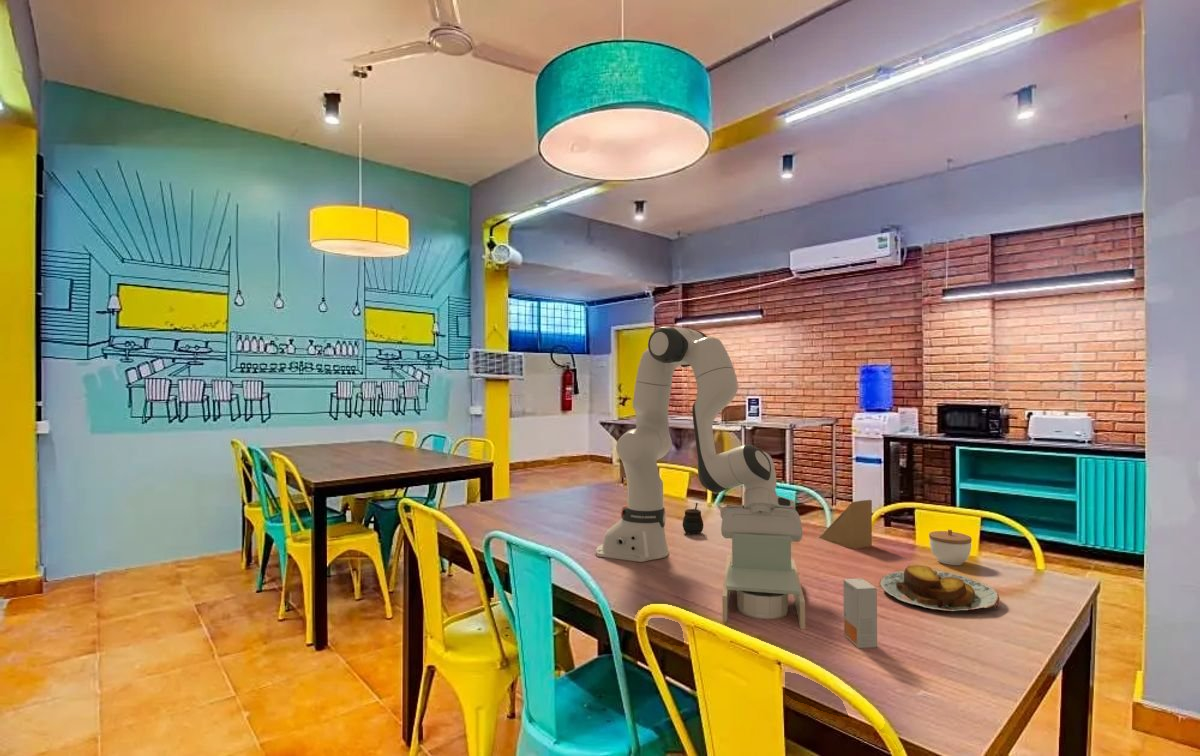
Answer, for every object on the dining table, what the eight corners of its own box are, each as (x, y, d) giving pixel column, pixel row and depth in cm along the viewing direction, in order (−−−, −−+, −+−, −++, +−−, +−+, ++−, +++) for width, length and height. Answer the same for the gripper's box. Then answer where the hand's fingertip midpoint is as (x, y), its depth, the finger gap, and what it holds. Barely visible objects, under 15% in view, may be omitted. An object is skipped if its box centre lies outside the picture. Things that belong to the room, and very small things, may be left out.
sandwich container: (836, 535, 207) (836, 491, 207) (872, 546, 193) (872, 499, 193) (817, 537, 203) (816, 493, 204) (852, 549, 189) (852, 501, 189)
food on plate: (1024, 611, 139) (1024, 583, 139) (936, 623, 132) (936, 594, 132) (936, 576, 163) (936, 552, 163) (858, 585, 157) (858, 560, 157)
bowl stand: (722, 621, 133) (722, 595, 133) (727, 575, 164) (727, 554, 164) (805, 629, 129) (805, 602, 129) (794, 580, 160) (794, 559, 160)
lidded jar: (931, 565, 172) (931, 532, 172) (927, 555, 182) (926, 524, 182) (975, 569, 168) (974, 536, 168) (967, 558, 178) (967, 527, 178)
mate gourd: (680, 535, 208) (680, 506, 208) (685, 529, 215) (684, 501, 215) (701, 536, 205) (701, 507, 205) (705, 531, 212) (705, 503, 212)
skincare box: (842, 635, 125) (842, 578, 125) (862, 635, 126) (862, 577, 126) (857, 648, 119) (857, 588, 119) (878, 647, 120) (877, 587, 120)
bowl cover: (726, 589, 136) (725, 550, 136) (728, 567, 152) (728, 533, 152) (800, 595, 132) (799, 555, 132) (794, 572, 148) (794, 536, 148)
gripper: (720, 498, 160) (719, 544, 151) (800, 501, 155) (804, 549, 146) (721, 511, 165) (720, 557, 155) (799, 514, 160) (803, 562, 150)
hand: (761, 553), depth 150 cm, fingers closed, pressing on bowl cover
